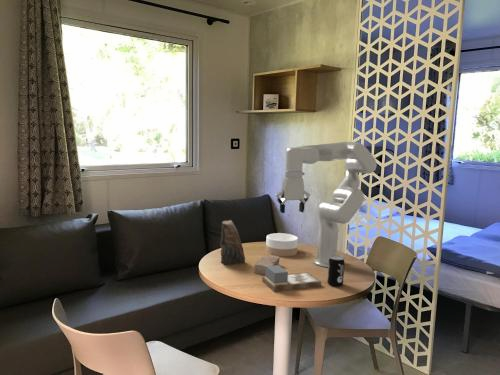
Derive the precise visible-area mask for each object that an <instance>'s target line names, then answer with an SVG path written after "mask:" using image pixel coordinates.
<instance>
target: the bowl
mask: <svg viewBox="0 0 500 375" xmlns="http://www.w3.org/2000/svg"><path fill="white" fill-rule="evenodd" d="M265 242H266V243H265V244H266V246H265V251H266V253H267V254H269V255H271V256H278V257H292V256H295V255H297V254H298V246H299V238H298V236H296V235H294V234H290V233H284V232H283V233H282V232H277V233H275V232H274V233H270V234H267V235H266V240H265Z"/></svg>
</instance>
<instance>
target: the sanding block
mask: <svg viewBox="0 0 500 375" xmlns="http://www.w3.org/2000/svg"><path fill="white" fill-rule="evenodd" d="M288 274H289V272H288V271H287V270H286V269H284V268H283V267H282V266H280V264H279V265H275V266H266V273H265V275H264V277H265V278H266V279H268V280H269V281H270V282H271V283H272V284H273V285H280V284H287V281H288Z"/></svg>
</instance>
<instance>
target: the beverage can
mask: <svg viewBox="0 0 500 375" xmlns="http://www.w3.org/2000/svg"><path fill="white" fill-rule="evenodd" d="M341 256H342V255H340V256H330V259H329V265H328V267H327V283H328V285H329V286H330V287H336V288H337V287H342V286H343V285H344V276H345V274H344V273H345V259H344V258H343V257H341Z"/></svg>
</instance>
